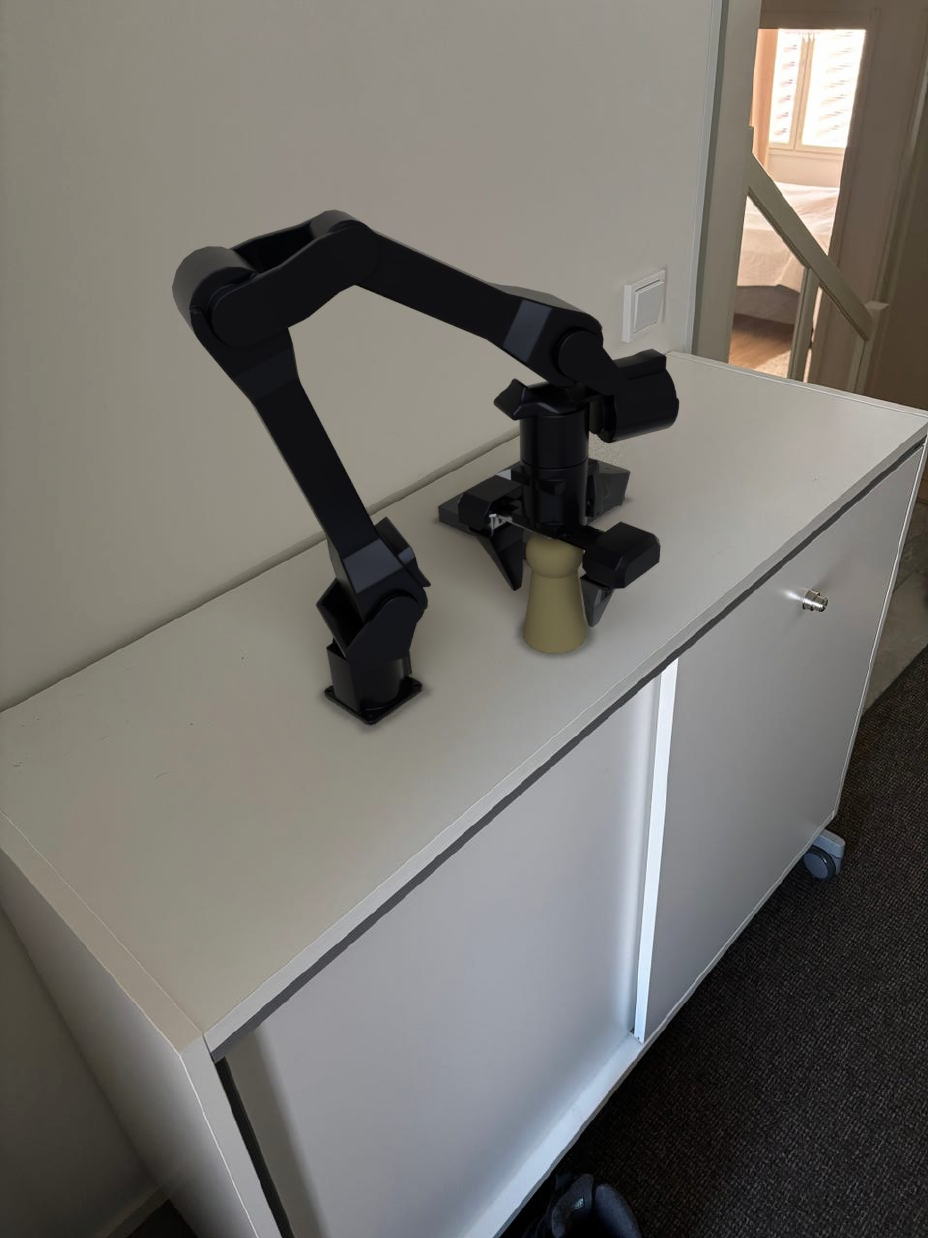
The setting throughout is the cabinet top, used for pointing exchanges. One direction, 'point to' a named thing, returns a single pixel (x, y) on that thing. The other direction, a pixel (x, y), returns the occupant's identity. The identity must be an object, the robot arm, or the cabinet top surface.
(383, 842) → the cabinet top surface
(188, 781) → the cabinet top surface
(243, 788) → the cabinet top surface
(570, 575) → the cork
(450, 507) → the scale
